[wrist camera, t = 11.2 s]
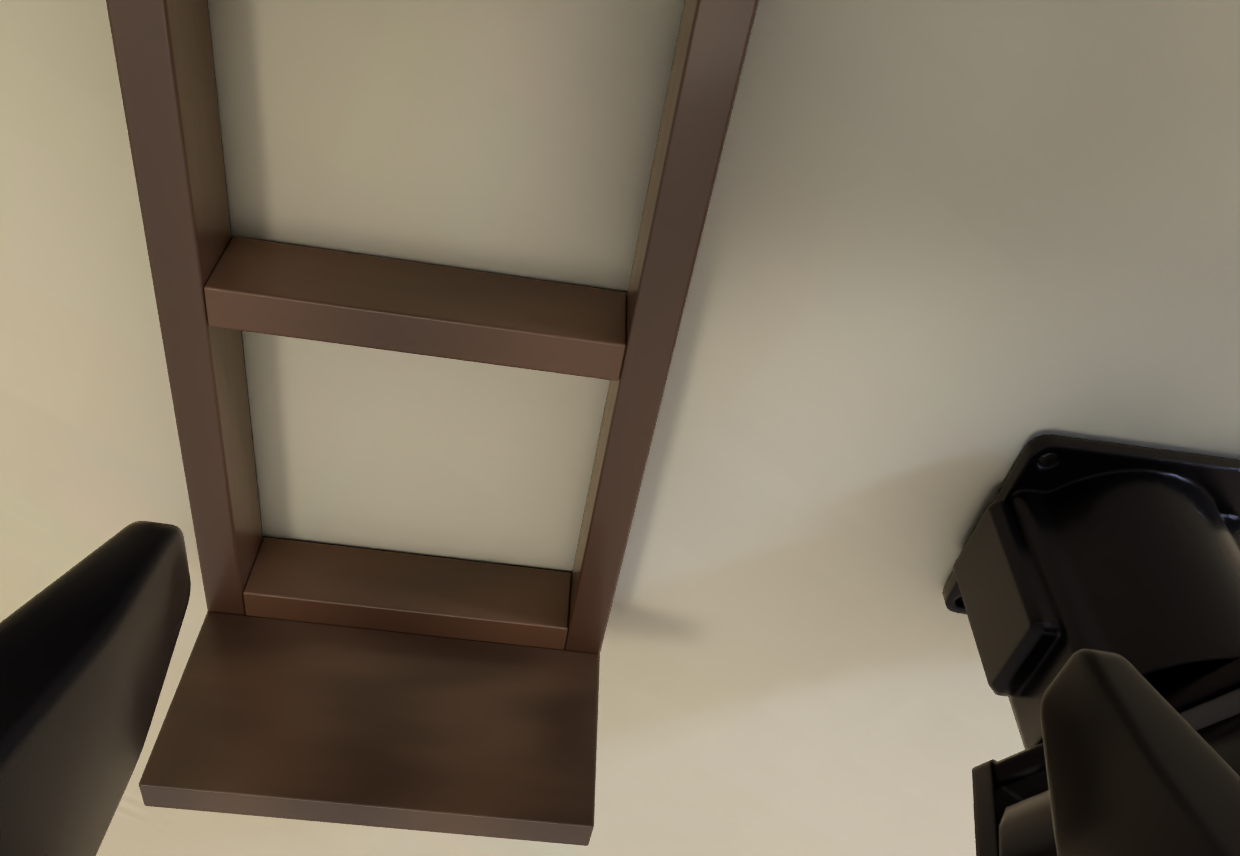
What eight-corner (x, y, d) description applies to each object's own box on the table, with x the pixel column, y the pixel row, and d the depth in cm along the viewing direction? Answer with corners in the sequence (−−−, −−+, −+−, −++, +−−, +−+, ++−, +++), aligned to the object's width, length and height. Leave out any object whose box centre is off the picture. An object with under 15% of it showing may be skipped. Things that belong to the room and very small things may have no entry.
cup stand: (784, -190, 17) (852, -62, 11) (596, 619, 30) (588, 846, 25) (109, -318, 16) (-161, -244, 10) (232, 578, 29) (144, 806, 24)
